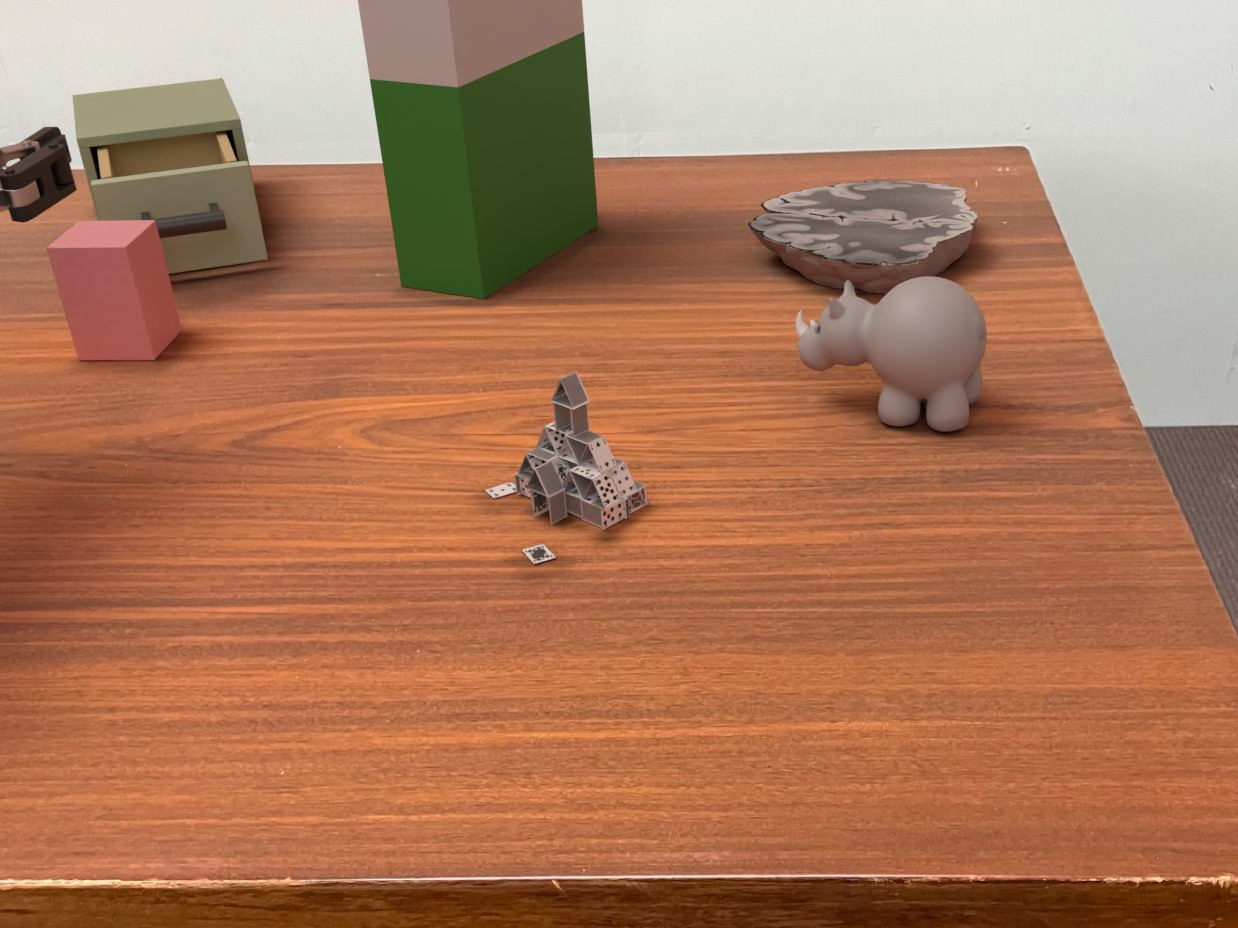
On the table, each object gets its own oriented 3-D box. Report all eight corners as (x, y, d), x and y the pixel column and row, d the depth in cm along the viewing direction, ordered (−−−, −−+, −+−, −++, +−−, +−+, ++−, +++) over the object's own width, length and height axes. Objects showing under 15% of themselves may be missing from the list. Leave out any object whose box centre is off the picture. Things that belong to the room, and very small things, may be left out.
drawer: (274, 276, 116) (255, 179, 112) (119, 299, 113) (92, 201, 109) (249, 209, 129) (230, 120, 125) (109, 228, 126) (86, 138, 122)
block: (78, 360, 106) (45, 247, 101) (108, 330, 110) (79, 220, 106) (154, 360, 106) (125, 246, 101) (182, 330, 110) (155, 219, 105)
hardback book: (521, 215, 129) (489, -103, 115) (598, 225, 126) (574, -100, 112) (401, 286, 116) (348, -63, 102) (483, 298, 113) (440, -58, 99)
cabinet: (263, 230, 128) (240, 118, 122) (106, 252, 124) (76, 138, 119) (244, 182, 139) (222, 77, 134) (100, 201, 136) (72, 94, 130)
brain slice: (784, 210, 128) (784, 173, 126) (988, 222, 124) (991, 184, 122) (722, 293, 112) (721, 253, 111) (951, 310, 108) (954, 269, 107)
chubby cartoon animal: (815, 373, 100) (817, 245, 95) (994, 398, 96) (1005, 266, 91) (776, 417, 95) (775, 285, 90) (964, 446, 91) (974, 309, 86)
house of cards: (430, 517, 86) (411, 390, 81) (542, 461, 91) (530, 339, 87) (540, 567, 81) (526, 435, 76) (652, 506, 86) (645, 378, 82)
